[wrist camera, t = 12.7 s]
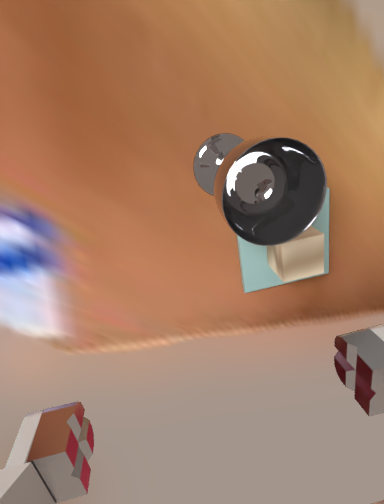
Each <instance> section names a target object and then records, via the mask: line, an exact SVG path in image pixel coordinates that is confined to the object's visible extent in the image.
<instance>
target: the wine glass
mask: <svg viewBox="0 0 384 504" xmlns="http://www.w3.org/2000/svg"><path fill="white" fill-rule="evenodd" d="M193 169H194V175H195V178H196V180H197V182H198V184H199V185H200V187H201V188H202V189H203V190H204V191H205V192H207V193H209V194H211V195H213V196H214V197H215V200H216V204H217V207H218V210H219V212H220V214H221V216H222V217H223V219H224V220H225V222H226V223H227V224H228V225H229V227H230V228H231V229H232V230H233V231H234V232H235V233H236V234H237V235H238V236H239V237H241V238H242V239H244V240H245V241H247V242H249V243H252V244H255V245H260V246H275V245H280V244H284V243H286V242H289V241H291V240H293V239H295V238H297V237H298V236H299V235H301V234H302V233H303V232H305V231H306V230H307V229H308V228H309V227H310V226H311V225H312V223H313V222H314V221H315V219H316V218H317V216H318V215H319V213H320V211H321V209H322V206H323V204H324V201H325V196H326V192H327V178H326V172H325V169H324V166H323V163H322V161H321V160H320V158H319V156H318V155H317V154H316V153H315V151H314V150H313V149H311V148H310V147H309V146H308V145H306V144H304V143H302V142H300V141H298V140H295V139H291V138H287V137H278V136H263V137H256V138H253V139H250V140H247V141H244V140H243V139H242V138H240V137H238V136H236V135H234V134H229V133H222V134H217V135H214V136H212V137H210V138H209V139H207V140H206V141H205V142H204V143H203V144H202V145H201V146H200V148H199V149H198V151H197V153H196V156H195V159H194V168H193Z"/></svg>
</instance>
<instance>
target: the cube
mask: <svg viewBox="0 0 384 504" xmlns="http://www.w3.org/2000/svg"><path fill="white" fill-rule="evenodd" d="M266 247H267V260H268V265H269V266H270V267H271V269H272V270H273V271H274V272H275V273H276V274H277V275H278V276H279V278H280V279H281V280H282V281H283V282H288V281H292V280H297V279H301V278H305V277H309V276H313V275H318V274H322V273H324V234H323V233H322V232H320V231H318V230H317V229H315V228H314V227H312V226H310V227H309V228H308V229H307V230H306V231H305V232H303V233H302V234H301V235H299V236H298V237H297V238H295V239H293V240H291V241H289V242H286V243H284V244H280V245H275V246H266Z"/></svg>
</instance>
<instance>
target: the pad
mask: <svg viewBox="0 0 384 504" xmlns="http://www.w3.org/2000/svg"><path fill="white" fill-rule="evenodd" d="M311 226H312V227H314V228H315V229H317V230H318V231H320V232H322V233H323V234H324V273H322V274H318V275H313V276H309V277H305V278H301V279H297V280H292V281H288V282H283V281H282V280H281V279H280V278H279V276H278V275H277V274H276V273H275V272H274V271H273V270H272V269H271V267H270V266H269V265H268V260H267V247H266V246H260V245H255V244H252V243H249V242H247V241H245V240H244V239H242V238H241V237H239V236H238V235H237V242H238V251H239V259H240V267H241V275H242V284H243V290H244V292H245V293H248V292H252V291H256V290H260V289H264V288H269V287H273V286H277V285H281V284H285V283H290V282H294V281H298V280H302V279H306V278H311V277H315V276H319V275H323V274H327V273H329V188H328V187H327V192H326V196H325V201H324V204H323V206H322V209H321V211H320V213H319V215H318V216H317V218H316V219H315V221H314V222H313V223H312V225H311Z"/></svg>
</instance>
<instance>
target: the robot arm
mask: <svg viewBox="0 0 384 504" xmlns="http://www.w3.org/2000/svg"><path fill="white" fill-rule="evenodd" d="M335 347H336V348H337V350H338V352H337V354H336V355H335V356H334V362H335V363H334V364H335V368H336V372H337V374H338V376H339V378H340V380H341V381H342V383H343V384H344V385H345V386H346V387H347V388H350V389H352V390H354V391H355V399H356V401H357V402H358V403H359V404H360V406H361V407H362V408H363V410H364V411H365V412H366V413H367V415H368V416H373V415H377V414H381V413H384V325H381V324H380V325H376V326H373V327H369V328H366V329H361V330H358V331H354V332H350V333H346V334H342V335H339V336H336V338H335ZM84 411H85V409H84V407H83V405H82V404H81V402H74V403H70V404H65V405H61V406H57V407H52V408H48V409H45V410H40V411H36V412H32V413H28V414H27V415H26V416H25V417H24V419H23V422H22V425H21V427H20V430H19V432H18V435H17V437H16V441H15V443H14V446H13V448H12V451H11V453H10V456H9V459H8V461H7V464H6V466H5V469H2V470H0V504H56V503H59V502H62V501H66V500H69V499H72V498H76V497H79V496H82V495H85V494H87V493H88V486H89V478H90V472H91V469H90V466H89V464H88V462H87V461H88V460H89V459H90V457H91V456H92V454H93V447H94V434H93V429H92V425H91V423H90V420H88V419H87V418H85V417H83V416H84ZM372 504H384V500H383V501H379V502H376V503H372Z"/></svg>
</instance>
